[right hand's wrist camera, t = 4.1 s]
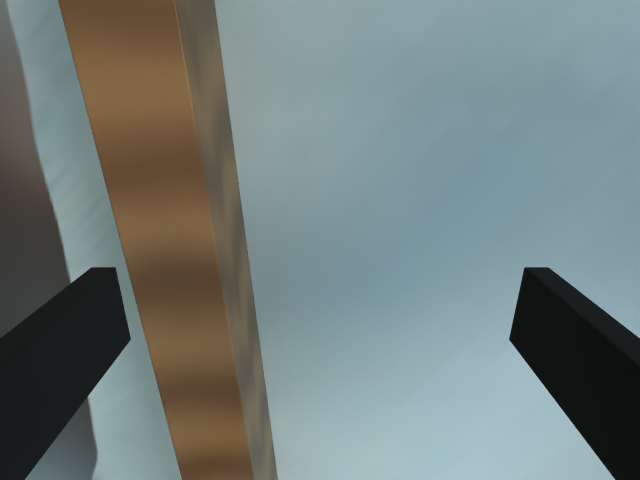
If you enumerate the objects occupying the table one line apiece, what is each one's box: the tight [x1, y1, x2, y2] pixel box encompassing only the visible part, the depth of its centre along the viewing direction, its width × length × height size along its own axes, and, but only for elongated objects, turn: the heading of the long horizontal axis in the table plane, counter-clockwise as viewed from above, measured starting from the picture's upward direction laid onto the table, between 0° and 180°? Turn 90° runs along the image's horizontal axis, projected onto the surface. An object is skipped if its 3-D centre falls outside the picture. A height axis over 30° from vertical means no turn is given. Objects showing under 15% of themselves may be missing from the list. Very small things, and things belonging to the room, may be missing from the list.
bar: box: [58, 0, 278, 480], centre depth 29 cm, size 59×5×7 cm, turn 3°
